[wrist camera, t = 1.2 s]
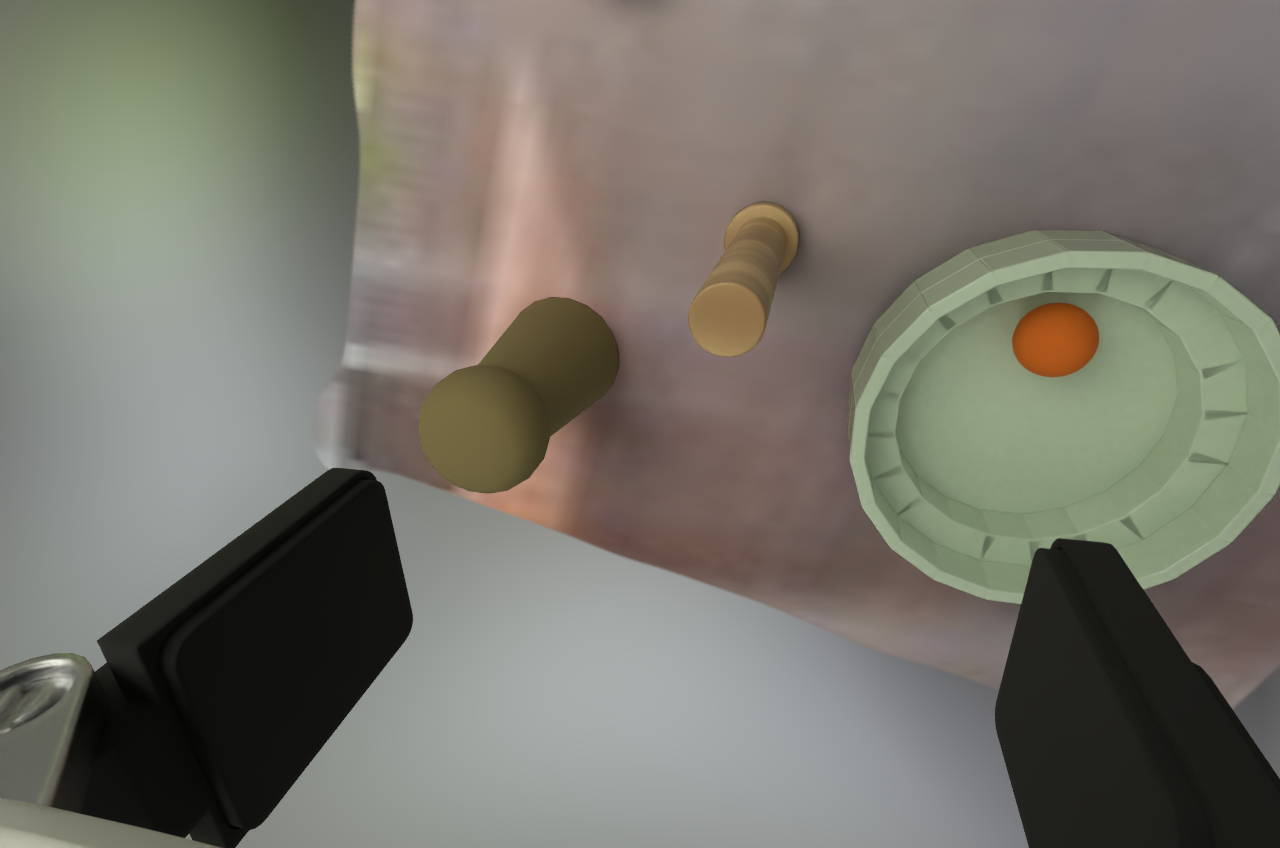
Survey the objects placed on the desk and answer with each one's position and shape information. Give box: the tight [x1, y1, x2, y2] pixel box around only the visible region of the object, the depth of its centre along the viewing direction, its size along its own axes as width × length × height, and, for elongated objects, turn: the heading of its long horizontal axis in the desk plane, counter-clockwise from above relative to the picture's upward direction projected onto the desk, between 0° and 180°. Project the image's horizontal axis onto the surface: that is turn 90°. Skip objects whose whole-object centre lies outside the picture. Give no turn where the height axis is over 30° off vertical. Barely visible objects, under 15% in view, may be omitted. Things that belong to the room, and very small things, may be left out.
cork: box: [419, 297, 618, 493], centre depth 30 cm, size 6×6×11 cm
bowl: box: [847, 230, 1280, 604], centre depth 28 cm, size 15×15×5 cm
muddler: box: [688, 202, 799, 357], centre depth 25 cm, size 3×3×13 cm
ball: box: [1012, 303, 1099, 377], centre depth 27 cm, size 3×3×3 cm
